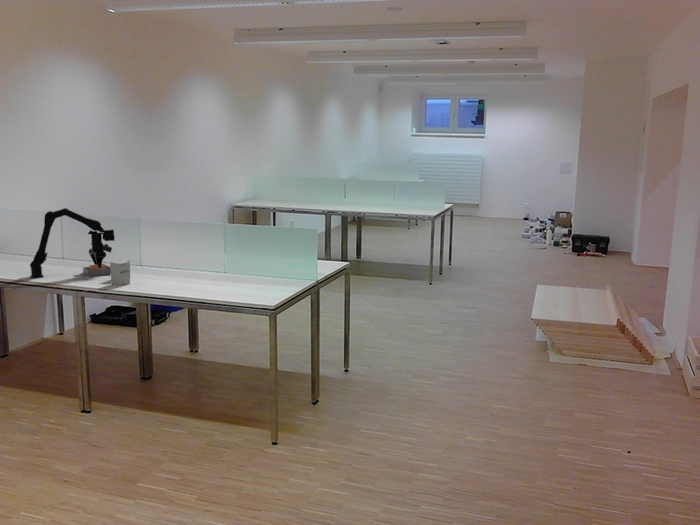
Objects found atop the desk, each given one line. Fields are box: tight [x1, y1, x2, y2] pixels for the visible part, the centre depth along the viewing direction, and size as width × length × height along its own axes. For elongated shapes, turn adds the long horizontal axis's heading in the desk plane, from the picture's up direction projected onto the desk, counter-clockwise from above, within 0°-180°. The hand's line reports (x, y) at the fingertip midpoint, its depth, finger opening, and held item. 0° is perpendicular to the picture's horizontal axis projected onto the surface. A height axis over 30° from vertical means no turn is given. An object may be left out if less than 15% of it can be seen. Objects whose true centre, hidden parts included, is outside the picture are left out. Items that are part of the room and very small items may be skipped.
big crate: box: [82, 264, 111, 278], centre depth 384 cm, size 15×15×4 cm
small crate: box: [88, 263, 107, 271], centre depth 384 cm, size 6×9×4 cm, turn 124°
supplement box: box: [109, 261, 131, 286], centre depth 353 cm, size 7×7×13 cm
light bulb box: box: [109, 259, 131, 271], centre depth 368 cm, size 11×7×11 cm, turn 168°
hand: (98, 266), depth 383 cm, fingers open, 9 cm apart
